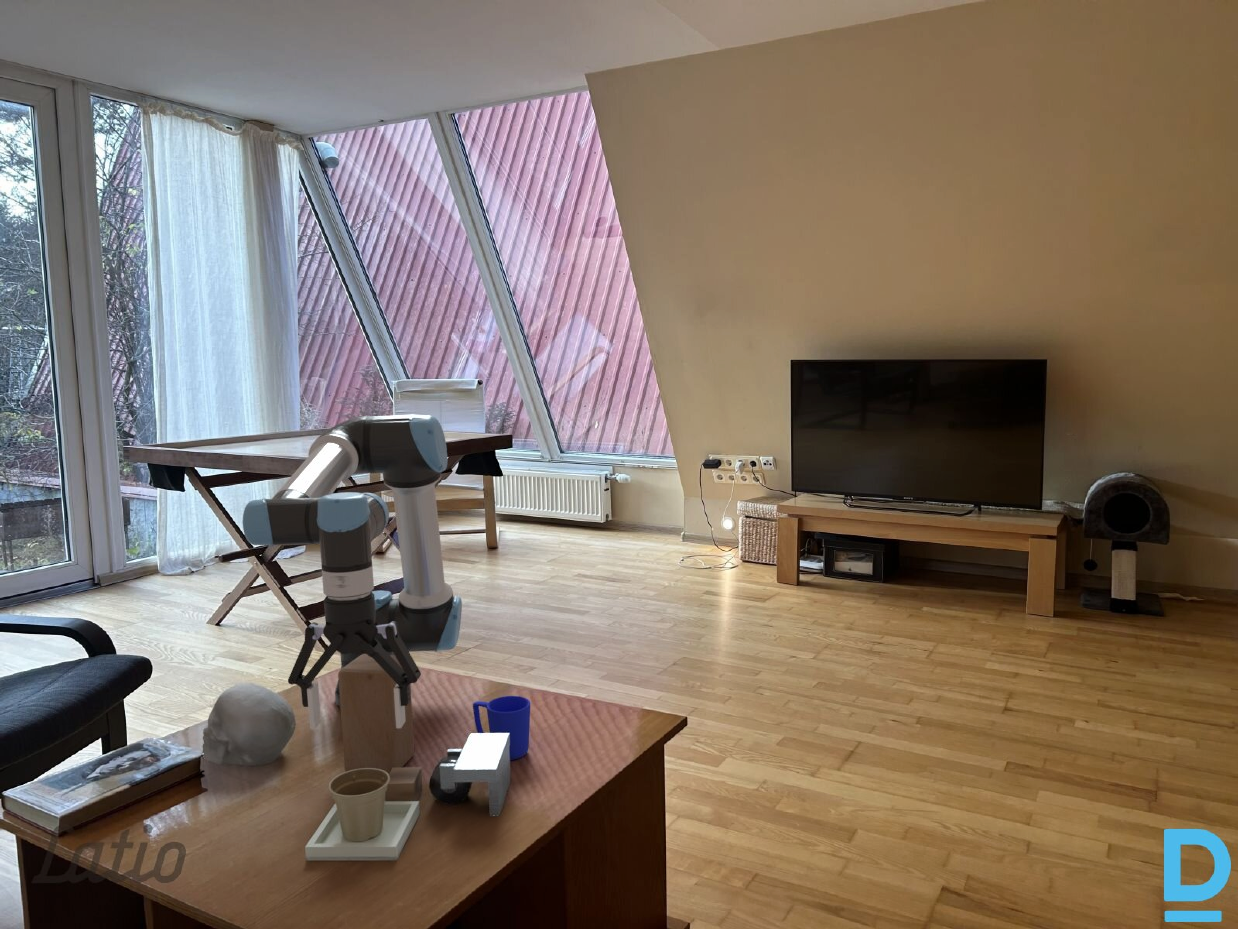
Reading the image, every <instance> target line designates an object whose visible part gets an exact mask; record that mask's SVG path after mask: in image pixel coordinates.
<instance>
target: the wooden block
mask: <svg viewBox="0 0 1238 929" xmlns="http://www.w3.org/2000/svg"><path fill="white" fill-rule="evenodd" d="M390 656H391V657H392V658H393V659H394V660H395V661H396V662H397V663H398V665H399V666H400V667H401V665H400V663H399V661H398V660H397V658H396V656H395V655H390ZM401 668H402V667H401ZM402 669H403V668H402ZM337 676H338V677H337V678H338V679H339V694H340V707H339V708H340V718H341V720H340V721H341V733H342V735H341V736H342V747H343V751H342V752H343V762H344V772H347V771H350V770H354V769H360V768H376V769H381V770H384V771H386V772H387V773H388V774H390V772H391V770H392V768H399V767H405V765H406V764H407V763H408V762H409V761H410V760H411V759H412V758H413V756H414V754H415V741H414V739H415V738H414V721H413V720H414V719H413V707H412V706H413V705H412V704H413V703H412V702H413V701H412V688H411V687H412V686H411V684H410V702H409V703H408V705H407V706H405V720H406V721H405V723H404V724H403V726H402V727H401V728H396V718H395V702H394V687H395V686H396V684H397V683H396V682H395V681H394V680H393V679H392V678H391V677H390V676H389V675H388V674H387V673H386V672H385V671H384V669H383V668H382V667H381V666H380V665H379V664H378V663H377V662H376V661H375V660H374V659H373V658H372V657H369V656H368V655H367V654H362V655H360V656H359V657H357V658H356V659H355V660H353V661H352V662H350V663H349V664H348V665H346V666H345V667H343V668H342V669H341V668H340V669H339V670H338V675H337ZM338 679H337V680H338Z"/></svg>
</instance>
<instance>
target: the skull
mask: <svg viewBox="0 0 1238 929" xmlns="http://www.w3.org/2000/svg"><path fill="white" fill-rule="evenodd" d="M296 726H297V722H296V715H295V713H294V709H293V707H292V706H291V705H290V704H289V702H288V701H287V700H286V699H285V698H284V697H283V696H281V694H278V693H277V692H275V691H272V690H271V689H268V688H266V687H264V686H263V685H259V684H254V683H250V682H241V683H238V684H235V685H232V686H230V687H229V688H227V689H225V690H224V691H223V692H222V693H221V694H220V695H219V696H218V697H217V700H216V701H215V703H214V706H213V707H212V709H211V711H210V713H209V716H208V718H207V725H206V726H204V729H203V730H202V734H203V736H202V740H203V743H202V753H204V758H205V761H207V760H208V761H209V762H208V761H207V762H208V763H211V764H215V765H217V766H226V765H240V766H250V767H252V766H253V767H257V766H262V765H263V766H264V765H267V764H271V763H272V762H274V761H277V759H278V757H279V756H280V755H281V753H282V751H283V750H284V749H285V748H286V746H287V744H288V743H289V741H290V740H291V739H292V737H293V735H294V733H295V729H296ZM202 753H201V754H202ZM204 758H203V759H204Z"/></svg>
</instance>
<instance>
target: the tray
mask: <svg viewBox="0 0 1238 929" xmlns="http://www.w3.org/2000/svg"><path fill="white" fill-rule="evenodd" d="M420 814H421V806H420V800H418V801H385V803H384V815H383V829H382V831H381V833H380V834H379V835H377V836H376V837H371V838H369V839H368V840H366V841H349V840H347V839H346V838H345V837H344V836H343V835H342V830H341V825H340V820H339V816H338V811H337V807H336V803H334V804H333V805H332V807H331V809H330V810H329V812H328V813H327V815H326V816H325V817H324V819H323V820H322V822H321V823H320V825H319V826H318V828H317V829H316V831H315V832H314V833H313V835H312V837H311V838H310V839H309V841H308V842H307V843H306V845H305V847H304V848H305V849H304V850H305V851H304V852H305V861H306V862H307V861H311V862H312V861H315V862H316V861H329V862H330V861H334V862H335V861H338V862H339V861H398V859H399V857H400V855H401V853H402V851H403V849H404V847H405V845H406V843H407V840H408V839H409V837H410V835H411V833H412V830H413V829H414V826H415V825H416V822H417V820H418V818H419V817H420V816H421V815H420Z"/></svg>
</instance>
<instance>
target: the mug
mask: <svg viewBox="0 0 1238 929" xmlns="http://www.w3.org/2000/svg"><path fill="white" fill-rule="evenodd" d="M480 707H482V708H485V709H486V713H487V721H488V728H489V733H510V746H509V755H510V761H511V760H512V761H515V760H517V759H520V758H523V757H524V756H525V755H526V754H528V751H529V746H530V727H531V726H530V724H531V722H530V720H531V701H530V700H529V698H526V697H523V696H520V695H519V696H518V695H507V696H506V695H505V696H500V697H497V698H493V699H491V700H490V701H489V702H487V701H480V700H479V701H474V702H473V704H472V711H473V716H474V717H473V718H474V724H475V728H476V733H485V732H484V729H483V726H482V722H481V714H480Z"/></svg>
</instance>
